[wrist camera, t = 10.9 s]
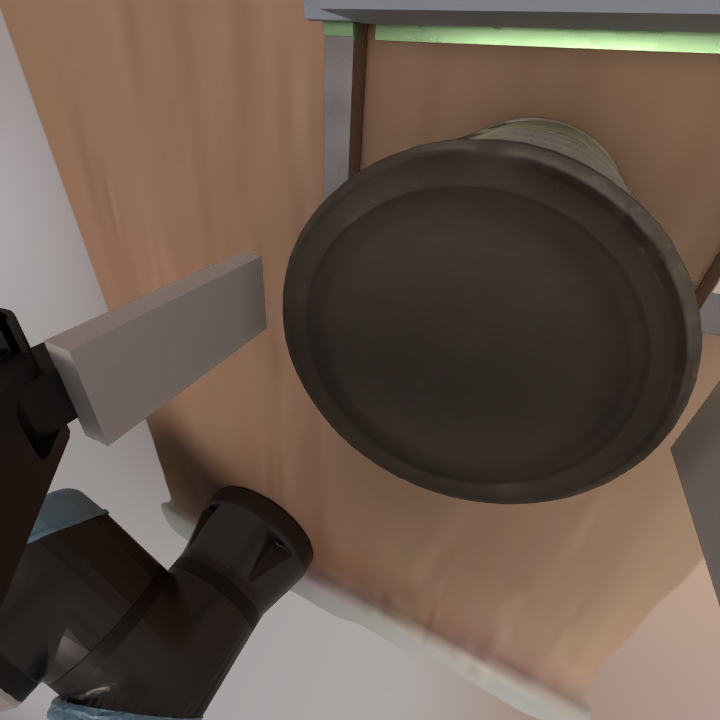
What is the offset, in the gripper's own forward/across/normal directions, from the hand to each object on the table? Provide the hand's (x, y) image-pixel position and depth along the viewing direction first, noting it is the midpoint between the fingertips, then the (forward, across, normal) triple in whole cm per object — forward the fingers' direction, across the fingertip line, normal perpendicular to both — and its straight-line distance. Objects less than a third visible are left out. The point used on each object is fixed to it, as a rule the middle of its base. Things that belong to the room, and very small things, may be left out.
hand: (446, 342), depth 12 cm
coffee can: (+13, +1, 0) cm, 13 cm away
